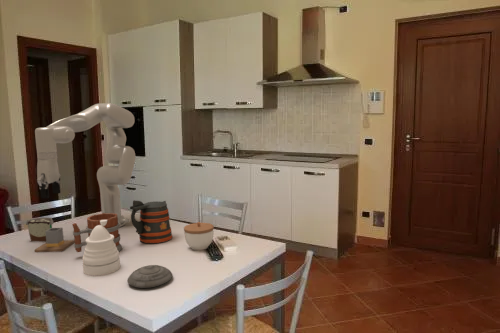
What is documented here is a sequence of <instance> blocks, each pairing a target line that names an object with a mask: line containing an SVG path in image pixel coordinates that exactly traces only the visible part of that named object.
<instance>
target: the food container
mask: <svg viewBox="0 0 500 333" xmlns="http://www.w3.org/2000/svg"><path fill="white" fill-rule="evenodd" d="M25 224H26V226H27V229H28V236H29V239H30V242H31V243H32V242H33V243H35V242H36V243H37V242H38V243H39V242H40V243H46V233H45V231H47V230H48V229H50V228H53V225H54V219H53V218H52V217H37V218H31V219H27V220H26V222H25Z"/></svg>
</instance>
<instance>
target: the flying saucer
mask: <svg viewBox="0 0 500 333" xmlns="http://www.w3.org/2000/svg"><path fill="white" fill-rule="evenodd" d="M172 278H173V273H172V271H171V270H170V269H169V268H167V267H165V266H163V265H158V264H150V265H148V264H147V265H145V266H144V265H143V266H141V267H139V268H137V269H136V270H133V272H131V274H129V276H128V278H127V283H128V284H129V285H130V286H131V287H134V288H141V289H143V288H144V289H145V288H146V289H147V288H148V289H149V288H154V287H158V286H162V285H164V284H166V283H167V282H168V283H169V281H170V280H171V279H172Z"/></svg>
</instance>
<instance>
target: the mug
mask: <svg viewBox="0 0 500 333" xmlns="http://www.w3.org/2000/svg"><path fill="white" fill-rule="evenodd" d="M86 220H87V221H86V222H87V226H86V227H85V229H81V228H80V227H79V225H78V223H72V228H73V231H72V236H73V237H74V239H73V240H75V243H74V244H73V248H74V250H75V251H76V253H80V252H82V248H83V247H84V246H85V247H86V245H87V243H86V241H82V238H81V235H82V234H88V236H87V238H88V237H89V236H90V234H91V232H92V230H93V229H94V228H95V227H96V226H98V225H101V224H100V221H101V220H107V224H106V225H105V226H103V227H105V228H106V230H107V231H108V232H109V234H112V235H114V239H113V241H114V243H115V244H116V247H117V250H118V252H119V253H120V251H121V250H122V249H123V246H122V244H121V243H120V241H121V234H120V233H119V230H120V228H121V227H120V225H119V222H118V217H117V214H113V213H102V212H101V213H98V214H93V215H90V216H88V217H87V218H86Z"/></svg>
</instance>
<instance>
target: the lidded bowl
mask: <svg viewBox="0 0 500 333" xmlns="http://www.w3.org/2000/svg"><path fill="white" fill-rule="evenodd" d="M214 228H215V227H214V224H212V223H209V222H201V221H197V222H194V223H188V224H187V225H185V226H184V227H183V233H184V238H185V242H186V244H187V245H188V246H189V247H190V248H191V249H192V250H194V251H203V250H206V249H208V248H209V246H210V245H211V244H212V242H213V240H214Z"/></svg>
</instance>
